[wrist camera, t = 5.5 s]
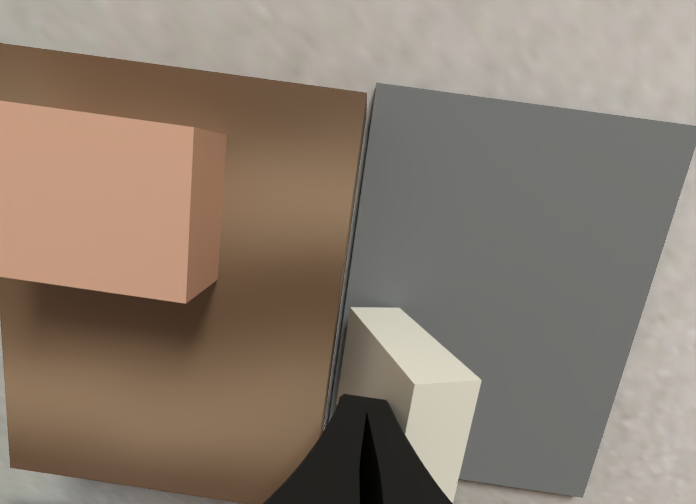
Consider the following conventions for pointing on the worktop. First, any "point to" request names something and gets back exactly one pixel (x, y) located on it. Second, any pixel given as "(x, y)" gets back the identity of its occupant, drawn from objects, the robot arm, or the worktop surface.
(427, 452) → the cream tile
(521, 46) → the worktop surface
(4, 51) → the walnut board
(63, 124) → the terracotta tile
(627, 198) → the rubber mat
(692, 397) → the worktop surface
